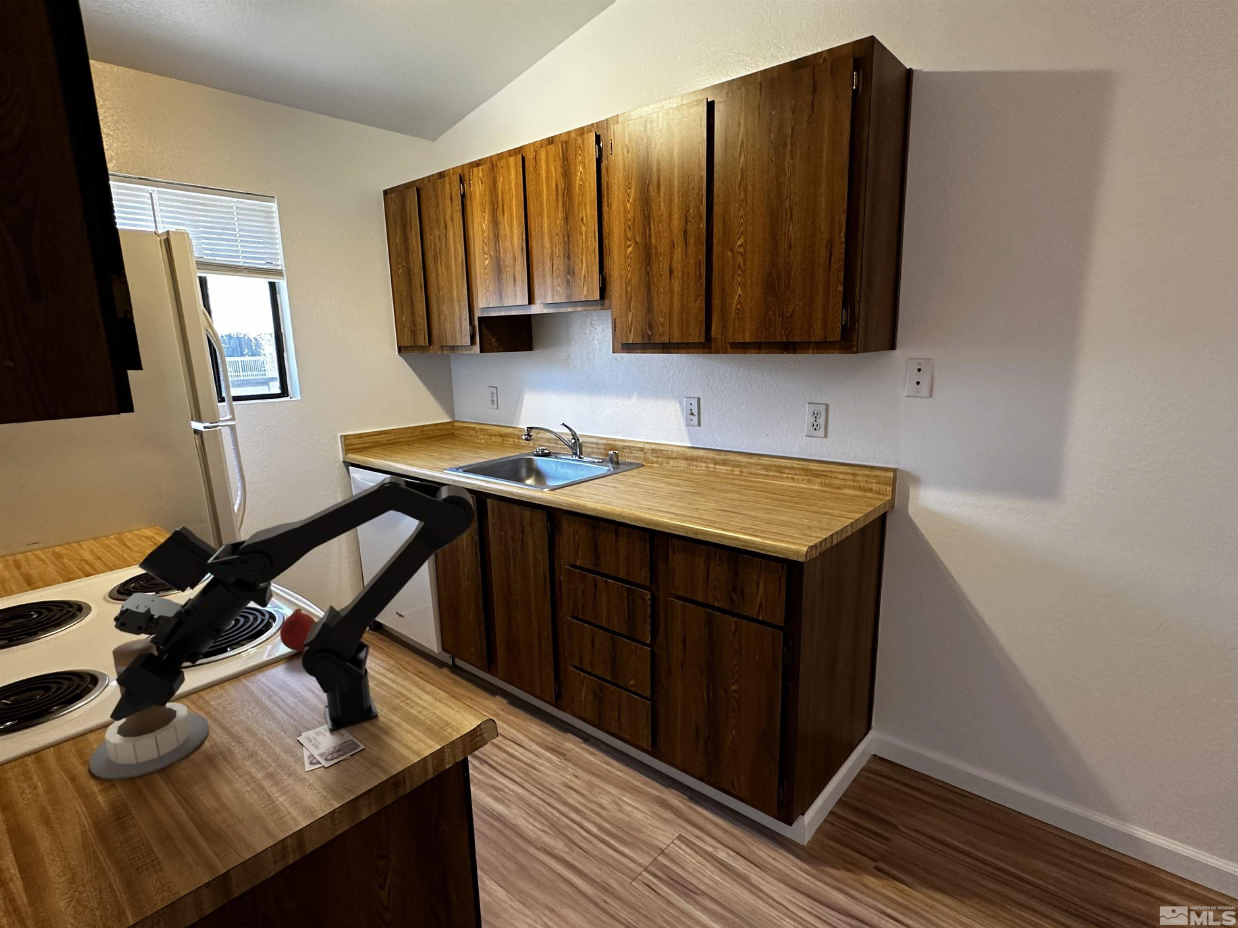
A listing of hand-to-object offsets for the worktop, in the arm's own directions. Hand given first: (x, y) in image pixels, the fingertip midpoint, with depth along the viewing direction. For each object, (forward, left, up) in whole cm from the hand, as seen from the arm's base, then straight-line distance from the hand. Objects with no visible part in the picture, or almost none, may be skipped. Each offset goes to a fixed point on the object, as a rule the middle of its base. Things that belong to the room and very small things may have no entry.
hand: (130, 698), depth 83 cm
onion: (+17, -21, -8) cm, 28 cm away
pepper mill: (0, -1, -7) cm, 7 cm away
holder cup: (0, -1, -7) cm, 7 cm away
